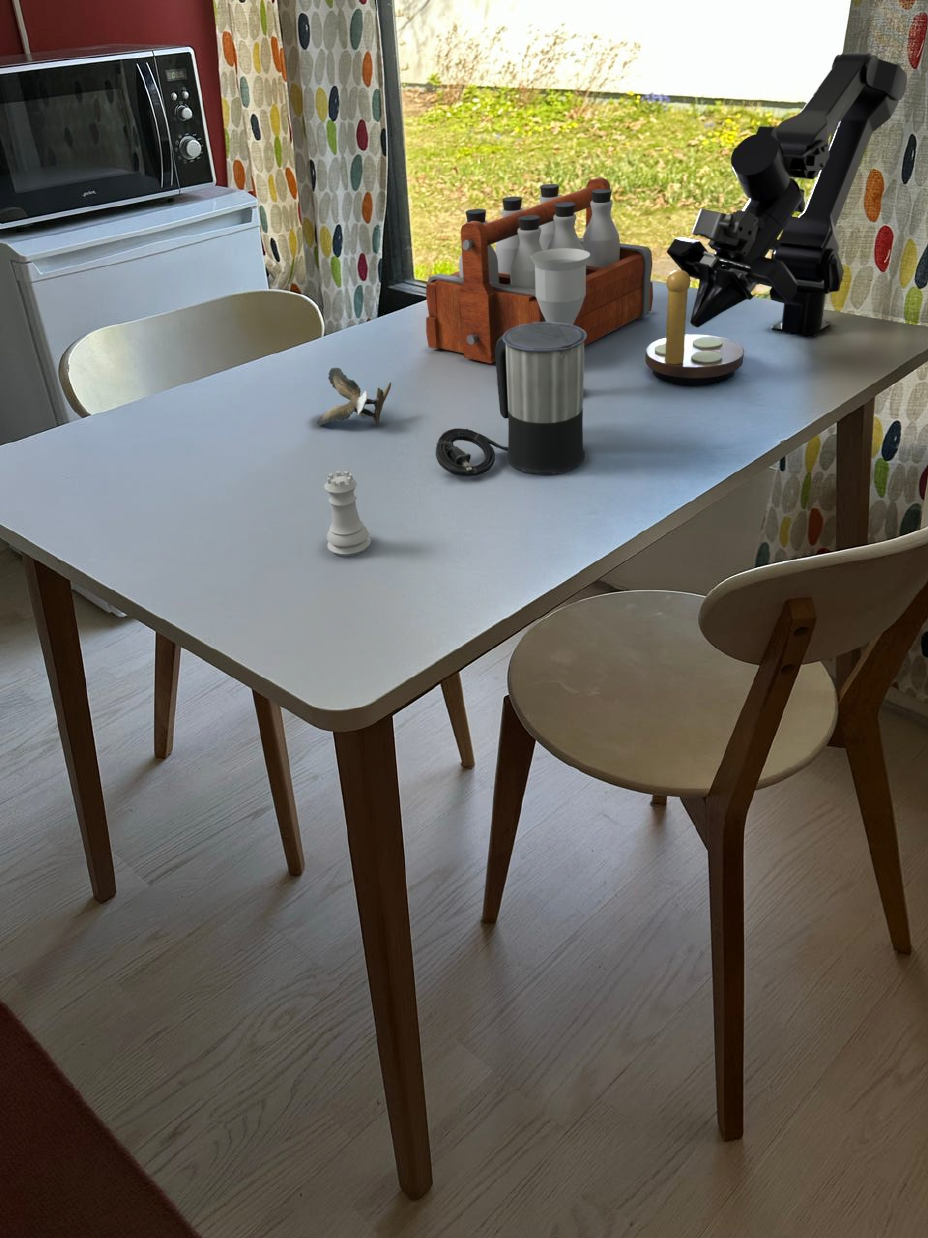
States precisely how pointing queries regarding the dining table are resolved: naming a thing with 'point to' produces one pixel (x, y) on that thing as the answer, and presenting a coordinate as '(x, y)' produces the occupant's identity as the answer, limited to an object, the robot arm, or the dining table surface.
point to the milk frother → (531, 403)
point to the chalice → (560, 283)
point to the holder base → (692, 379)
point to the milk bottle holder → (505, 278)
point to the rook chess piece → (345, 517)
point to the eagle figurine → (352, 399)
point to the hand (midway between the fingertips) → (693, 325)
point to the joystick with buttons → (690, 342)
